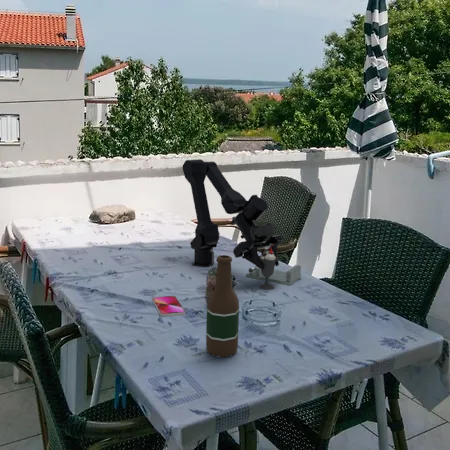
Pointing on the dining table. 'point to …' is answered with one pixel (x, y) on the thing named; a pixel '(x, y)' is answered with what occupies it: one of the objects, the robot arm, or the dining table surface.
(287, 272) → the vise
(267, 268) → the sundae
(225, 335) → the beer bottle
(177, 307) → the smartphone
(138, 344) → the dining table surface
